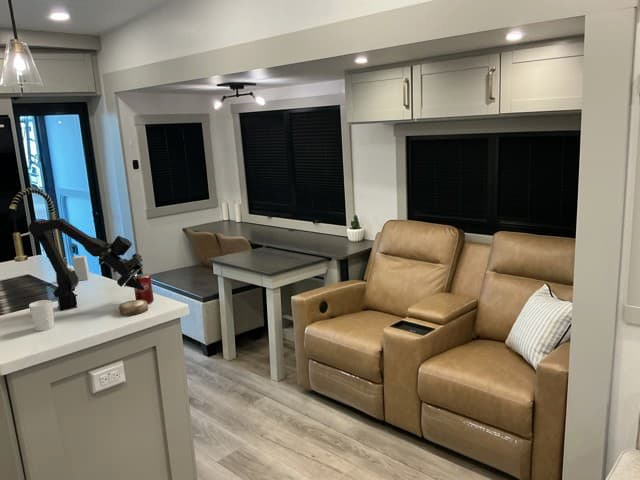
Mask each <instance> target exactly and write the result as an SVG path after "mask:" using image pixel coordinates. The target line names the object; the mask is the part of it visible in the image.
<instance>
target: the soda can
mask: <svg viewBox="0 0 640 480" xmlns="http://www.w3.org/2000/svg"><path fill="white" fill-rule="evenodd" d="M135 279H136V280H137V281H138V282H139V283H140V284H141V285H142V286H143V287H144V290H140V289H136V288H133V290H134V291H133V292H134V296H135V298H134V299H135V300H145V301H147V305H151V304H152V303H153V302H154V301H155V300H154V291H153V290H154V289H153V284H152V275H150V273H143V274H139V275H136V276H135Z"/></svg>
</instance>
